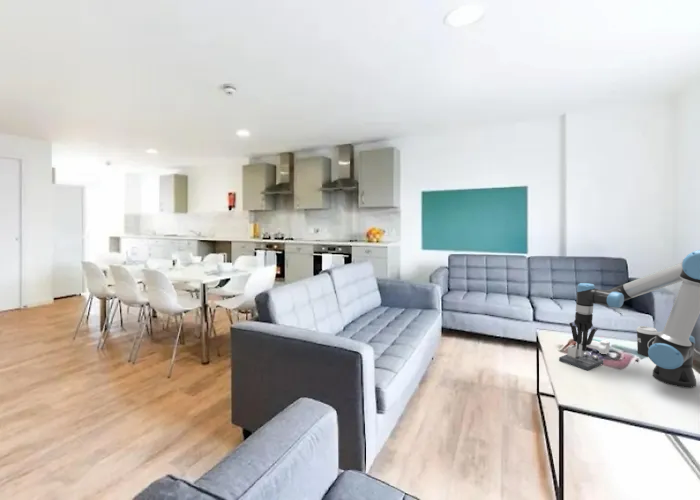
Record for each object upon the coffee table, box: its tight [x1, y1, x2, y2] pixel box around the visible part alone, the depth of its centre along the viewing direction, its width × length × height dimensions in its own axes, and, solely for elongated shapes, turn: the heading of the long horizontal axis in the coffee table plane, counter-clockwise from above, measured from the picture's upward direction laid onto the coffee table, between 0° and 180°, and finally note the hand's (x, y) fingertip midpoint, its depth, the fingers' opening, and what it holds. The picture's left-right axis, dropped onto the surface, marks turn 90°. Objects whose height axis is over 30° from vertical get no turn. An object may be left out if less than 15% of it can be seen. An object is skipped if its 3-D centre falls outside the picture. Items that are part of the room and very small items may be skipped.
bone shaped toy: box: [575, 333, 611, 355], centre depth 201 cm, size 15×9×8 cm, turn 35°
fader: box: [567, 344, 579, 358], centre depth 188 cm, size 4×4×5 cm
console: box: [558, 351, 604, 372], centre depth 185 cm, size 14×16×4 cm
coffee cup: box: [635, 325, 659, 357], centre depth 195 cm, size 10×10×15 cm
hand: (581, 355), depth 185 cm, fingers closed
